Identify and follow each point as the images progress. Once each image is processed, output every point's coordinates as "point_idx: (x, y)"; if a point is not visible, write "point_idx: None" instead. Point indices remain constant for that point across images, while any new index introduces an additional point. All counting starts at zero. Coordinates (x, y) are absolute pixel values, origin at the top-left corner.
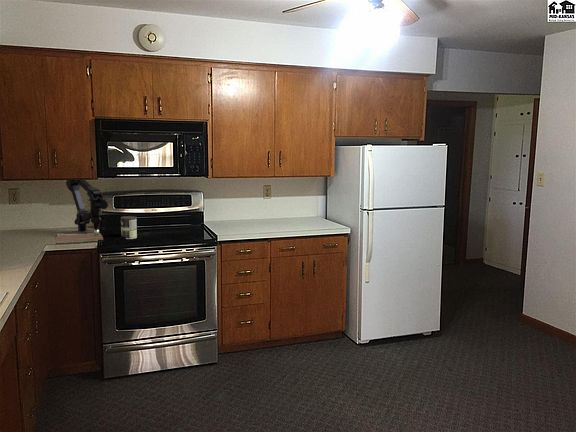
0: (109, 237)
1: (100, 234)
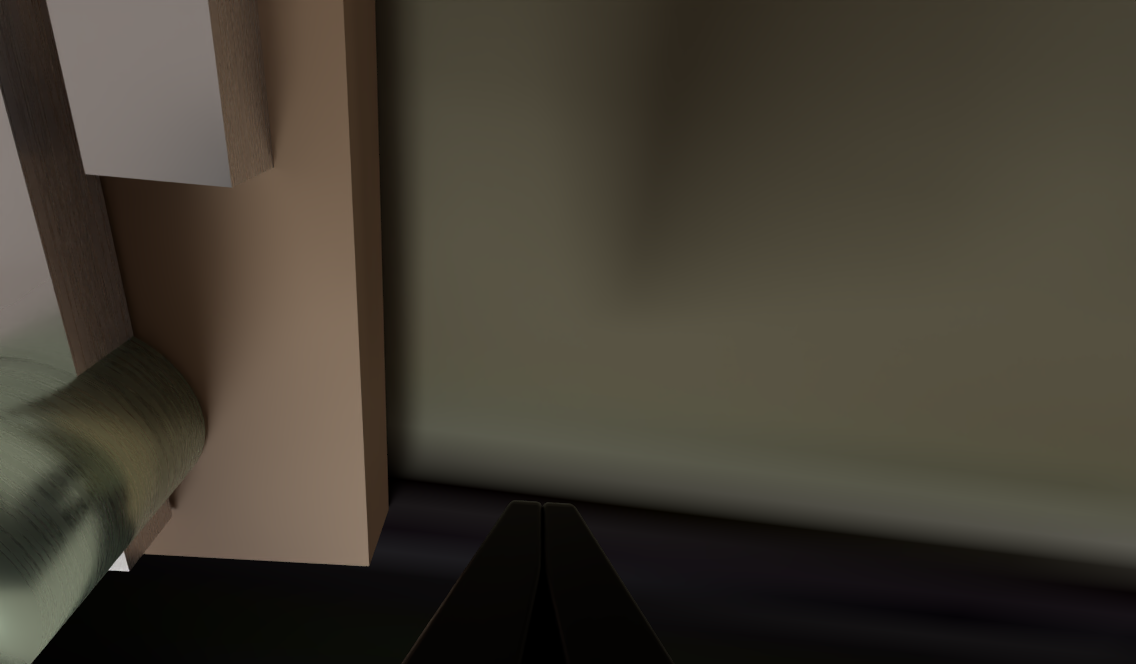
0: (70, 653)
1: (208, 536)
